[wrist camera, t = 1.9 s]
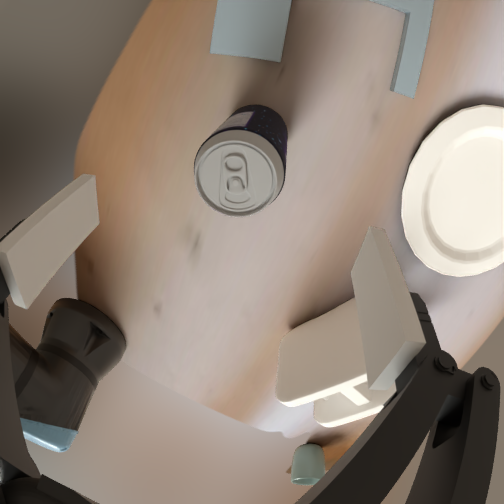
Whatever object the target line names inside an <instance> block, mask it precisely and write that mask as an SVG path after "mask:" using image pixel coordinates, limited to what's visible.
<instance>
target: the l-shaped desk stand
mask: <svg viewBox="0 0 504 504" xmlns="http://www.w3.org/2000/svg"><path fill="white" fill-rule="evenodd" d="M369 1H372V2H375V3H379V4H382V5H384V6H387V7H390V8H393V9H396V10H398V11H401V12H404V13H406V17H405V23H404V28H403V33H402V38H401V43H400V48H399V52H398V57H397V62H396V66H395V71H394V75H393V79H392V83H391V87H390V90H391V91H394V92H396V93H399V94H402V95H405V96H408V97H410V98H413V99H414V96H415V92H416V88H417V84H418V80H419V76H420V71H421V67H422V63H423V58H424V53H425V49H426V44H427V39H428V34H429V28H430V23H431V17H432V11H433V5H434V0H369ZM291 3H292V0H218V3H217V9H216V15H215V21H214V27H213V34H212V40H211V47H210V53H212V54H223V55H232V56H241V57H249V58H256V59H263V60H269V61H275V62H281V57H282V52H283V46H284V41H285V35H286V30H287V24H288V19H289V13H290V8H291Z"/></svg>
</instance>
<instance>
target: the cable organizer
mask: <svg viewBox="0 0 504 504" xmlns="http://www.w3.org/2000/svg"><path fill="white" fill-rule="evenodd" d="M396 391H397V390H396V385H395V382H394V383H393V384H392V385H391V386H390V388H389V389H388V390H372V389H368V381H367V373H366V365H365V358H364V350H363V343H362V337H361V330H360V324H359V318H358V312H357V306H356V300H355V297H354V298H352V299H350V300H349V301H347V302H345V303H343V304H341V305H340V306H338V307H336V308H335V309H333V310H331V311H329V312H327V313H325V314H323V315H321V316H319V317H317V318H315V319H312V320H309V321H307V322H305V323H303V324H301V325H299V326H297V327H296V328H294V329H293V330H291V331H289V332H288V333H287V334H286V335H285V336H284V337H283V338H282V340H281V342H280V345H279V357H278V369H277V380H276V392H275V396H276V398H277V400H278V401H280V402H281V403H283V404H285V405H286V406H290V407H294V406H298V405H302V404H305V403H308V402H311V401H314V419H315V421H316V422H318V423H319V424H321V425H323V426H325V427H335V426H338V425H342V424H345V423H348V422H351V421H355V420H358V419H361V418H364V417H367V416H369V415H372V414H375V413H378V412H380V411H381V410H382V408H383V407H384V406H383V404H384V403H385V402H386V401H387V400H388V399H389V398H390V397H391V396H392V395H393V394H394V393H395V392H396Z"/></svg>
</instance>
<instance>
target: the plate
mask: <svg viewBox="0 0 504 504" xmlns="http://www.w3.org/2000/svg"><path fill="white" fill-rule="evenodd" d="M401 218H402V223H403V228H404V233H405V237H406V239H407V241H408V243H409V245H410V247H411V248H412V250H413V252H414V254H415V255H416V256H417V257H418V258H419V259H420V260H421V261H422V262H423V263H424V264H425V265H426V266H427V267H429V268H431V269H433V270H435V271H437V272H439V273H441V274H444V275H450V276H457V277H463V276H471V275H477V274H480V273H483V272H485V271H488V270H491V269H493V268H495V267H497V266H498V265H500V264H501V263H503V262H504V107H500V106H492V105H484V104H481V105H476V106H472V107H468V108H463V109H460V110H459V111H457V112H455V113H454V114H452V115H450V116H449V117H447V118H445V119H444V120H442V121H441V122H440V123H439V124H438V125H437V126H436V127H435V128H434V129H433V130H432V131H431V132H430V133H429V134H428V136H427V137H426V138H425V139H424V140H423V141H422V143H421V145H420V147H419V148H418V150H417V152H416V154H415V156H414V157H413V159H412V161H411V163H410V164H409V168H408V171H407V175H406V178H405V182H404V185H403V188H402V202H401Z"/></svg>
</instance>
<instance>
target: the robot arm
mask: <svg viewBox="0 0 504 504" xmlns="http://www.w3.org/2000/svg"><path fill="white" fill-rule="evenodd" d="M99 223H100V222H99V213H98V203H97V192H96V178H95V175H89V174H82V175H81V176H79V177H78V178H77V179H75V180H74V181H73V182H71V183H70V184H69V185H67V186H66V187H65V188H63V189H62V190H61V191H60V192H58V193H57V194H56V195H54V196H53V197H52V198H51V199H49V200H48V201H47V202H46V203H44V204H43V205H42V206H41V207H40V208H38V210H36V211H35V212H34V213H32V214H31V215H30V216H29V217H28V218H26V219H24V220H22V221H20V222H19V223H18V224H17V225H15V226H14V227H13V228H12V230H10V231H9V232H8V233H7V234H6V235H4V236H3V237H2V238H1V239H0V504H99V503H97V502H95V501H93V500H91V499H89V498H87V497H85V496H83V495H81V494H80V493H78V492H76V491H74V490H72V489H70V488H68V487H66V486H64V485H62V484H60V483H58V482H56V481H54V480H52V479H50V478H48V477H47V476H44V475H43V474H42V475H40V473H39V470H38V468H37V466H36V464H35V463H34V461H33V460H32V458H31V457H30V454H29V453H28V450H27V446H26V442H25V438H26V439H28V440H30V441H32V442H34V443H36V444H38V445H40V446H43V447H45V448H47V449H50V450H53V451H56V452H64V451H67V450H68V449H69V448H70V446H71V444H72V442H73V440H74V438H75V436H76V434H78V429H79V426H80V424H81V422H82V419H83V417H84V415H85V412H86V410H87V408H88V405H89V403H90V401H91V399H92V396H93V394H94V391H95V389H96V387H97V385H98V383H99V381H100V380H101V379H102V378H103V377H104V376H105V375H106V374H108V372H110V371H111V370H112V369H113V368H114V367H115V366H116V365H117V364H118V363H119V361H120V360H121V358H122V356H123V354H124V352H125V348H126V344H125V340H124V338H123V335H122V334H121V332H120V331H119V329H118V328H117V327H116V325H115V324H114V323H113V322H112V321H111V320H110V319H109V318H108V317H107V316H105V315H104V314H103V313H102V312H100V311H99V310H97V309H96V308H94V307H92V306H91V305H89V304H87V303H85V302H82V301H80V300H76V299H72V298H62V299H59V300H57V301H56V302H55V303H54V305H53V306H52V307H51V309H50V310H49V312H48V315H47V319H46V323H45V326H44V330H43V334H42V338H41V342H40V344H39V346H38V347H37V349H36V350H35V349H34V348H33V347H32V346H31V345H30V344H29V343H28V342H27V341H26V340H25V339H24V338H23V337H22V336H21V335H20V334H19V333H18V332H17V331H16V330H15V329H14V328H13V327H12V326H11V324H10V323H9V319H8V318H9V317H8V303H7V300H6V298H7V297H8V295H9V294H11V297H12V299H13V301H14V304H15V305H18V306H20V307H22V308H25V309H28V308H29V306H30V305H31V304H32V302H33V301H34V300H35V298H36V297H37V296H38V295H39V293H40V292H41V291H42V289H43V288H44V287H45V285H46V284H47V283H48V282H49V281H50V279H51V278H52V277H53V276H54V275H55V273H56V272H57V271H58V270H59V269H60V267H61V266H62V265H63V264H64V263H65V261H66V260H67V259H68V258H69V257H70V256H71V254H72V253H73V252H74V251H75V250H76V249H77V248H78V246H79V245H80V244H81V243H82V242H83V241H84V240H85V239H86V238H87V236H88V235H89V234H90V233H91V232H92V231H93V230H94V229H95V228H96V227H97V226H98V225H99ZM351 279H352V284H353V289H354V295H355V300H356V306H357V312H358V318H359V324H360V330H361V337H362V343H363V350H364V358H365V365H366V373H367V381H368V389H372V390H388V389H389V388H390V386H391V385H392V384H393V383H394V382H395V385H396V390H397V391H396V392H395V393H394V394H393V395H392V396H391V397H390V398H389V399H388V400H387V401H386V402H385V403H384V404H383V406H384V407H383V408H382V410H381V411H380V412H379V413H378V415H377V416H376V417H375V418H374V420H373V421H372V422H371V423H370V425H369V426H368V427H367V428H366V430H365V431H364V432H363V433H362V434H361V436H360V437H359V438H358V439H357V440H356V441H355V443H354V444H353V445H352V446H351V447H350V448H349V449H348V450H347V452H346V453H345V454H344V455H343V456H342V457H341V458H340V459H339V460H338V461H337V462H336V464H335V465H334V466H333V467H332V468H331V469H330V470H329V471H328V472H327V473H326V474H325V475H324V476H323V477H322V478H321V479H320V480H319V481H318V482H317V483H316V484H315V485H314V486H313V487H312V488H311V489H310V490H309V491H308V492H307V493H305V495H303V496H302V497H301V498H300V499H299V500H298V501H297V502H296V503H295V504H380V503H381V502H382V501H383V499H384V498H385V497H386V496H387V494H388V493H389V491H390V490H391V489H392V487H393V486H394V485H395V483H396V482H397V480H398V479H399V478H400V476H401V475H402V473H403V472H404V470H405V469H406V467H407V466H408V464H409V463H410V461H411V460H412V458H413V457H414V455H415V453H416V452H417V450H418V449H419V447H420V445H421V444H422V442H423V440H424V439H425V437H426V435H427V433H428V432H429V430H430V433H429V436H428V440H427V443H426V447H425V450H424V453H423V456H422V459H421V462H420V466H419V468H418V472H417V474H416V477H415V480H414V482H413V485H412V488H411V491H410V493H409V496H408V498H407V501H406V503H405V504H485V502H486V498H487V494H488V489H489V485H490V480H491V474H492V469H493V463H494V455H495V449H496V441H497V432H498V421H499V407H500V383H499V380H498V378H497V376H496V375H495V374H494V372H493V371H491V370H490V369H488V368H485V367H481V368H478V369H477V370H476V371H475V372H474V373H473V374H470V373H467V372H465V371H462V370H459V369H458V367H457V364H456V362H455V360H454V358H453V357H452V356H451V355H450V354H449V353H447V352H445V351H443V350H441V348H440V345H439V341H438V339H437V336H436V333H435V330H434V327H433V324H432V323H431V318H430V316H429V315H428V310H427V308H426V305H425V303H424V301H423V300H422V299H421V298H420V296H419V295H418V294H417V293H411V292H409V290H408V287H407V285H406V282H405V279H404V277H403V274H402V271H401V269H400V266H399V264H398V261H397V259H396V256H395V254H394V251H393V249H392V246H391V244H390V242H389V239H388V237H387V235H386V232H385V230H384V229H380V228H376V227H372V226H369V228H368V231H367V234H366V236H365V239H364V241H363V244H362V246H361V249H360V251H359V254H358V256H357V258H356V261H355V263H354V266H353V268H352V270H351ZM430 428H431V429H430Z"/></svg>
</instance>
